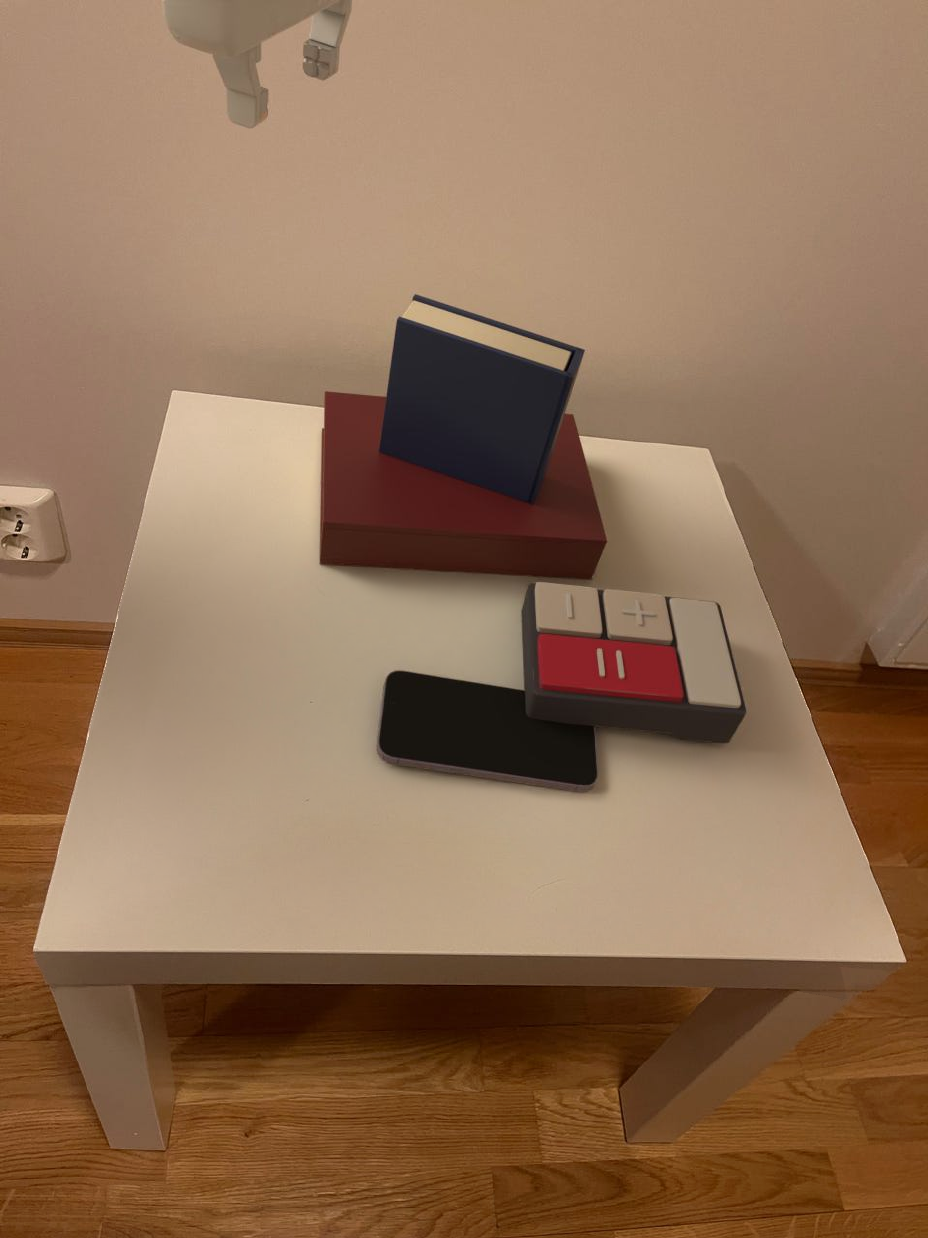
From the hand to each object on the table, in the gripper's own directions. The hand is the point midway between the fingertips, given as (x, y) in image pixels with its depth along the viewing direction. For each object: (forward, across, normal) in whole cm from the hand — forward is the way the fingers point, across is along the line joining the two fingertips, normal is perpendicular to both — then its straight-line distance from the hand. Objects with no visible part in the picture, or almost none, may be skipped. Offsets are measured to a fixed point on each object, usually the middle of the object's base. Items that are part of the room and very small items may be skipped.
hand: (286, 97), depth 54 cm
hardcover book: (+25, +4, -14) cm, 29 cm away
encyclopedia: (+29, +4, -14) cm, 33 cm away
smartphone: (+29, -17, -25) cm, 42 cm away
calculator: (+29, -8, -32) cm, 44 cm away
